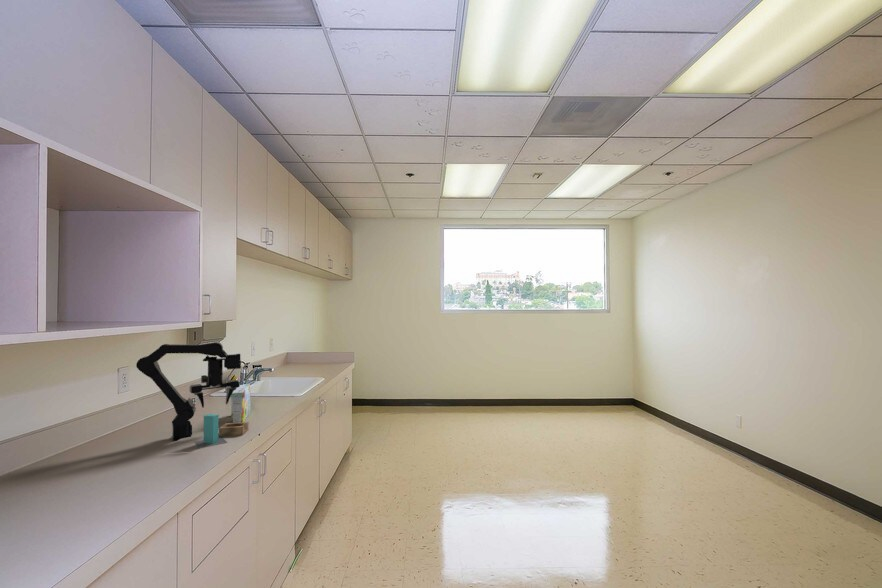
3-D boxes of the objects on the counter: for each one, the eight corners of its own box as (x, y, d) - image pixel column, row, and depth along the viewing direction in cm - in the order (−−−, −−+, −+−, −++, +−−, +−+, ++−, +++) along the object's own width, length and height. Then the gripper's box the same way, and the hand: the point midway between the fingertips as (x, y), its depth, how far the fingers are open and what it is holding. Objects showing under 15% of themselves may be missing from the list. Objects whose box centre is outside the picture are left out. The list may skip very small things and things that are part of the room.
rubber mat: (198, 450, 150) (198, 448, 150) (194, 443, 158) (194, 442, 158) (227, 443, 157) (227, 442, 157) (221, 437, 164) (221, 436, 164)
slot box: (218, 437, 164) (219, 428, 164) (225, 432, 171) (225, 423, 171) (242, 436, 166) (242, 426, 166) (248, 431, 173) (248, 422, 173)
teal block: (203, 442, 157) (203, 415, 157) (208, 440, 159) (209, 413, 159) (213, 443, 155) (213, 416, 156) (218, 441, 158) (218, 414, 158)
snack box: (239, 413, 203) (239, 384, 204) (250, 412, 205) (251, 383, 206) (230, 424, 183) (230, 392, 184) (243, 423, 185) (243, 391, 185)
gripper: (233, 366, 184) (233, 399, 183) (187, 370, 172) (187, 406, 171) (239, 368, 175) (239, 403, 175) (191, 373, 163) (191, 411, 163)
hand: (214, 405), depth 171 cm, fingers open, 9 cm apart
